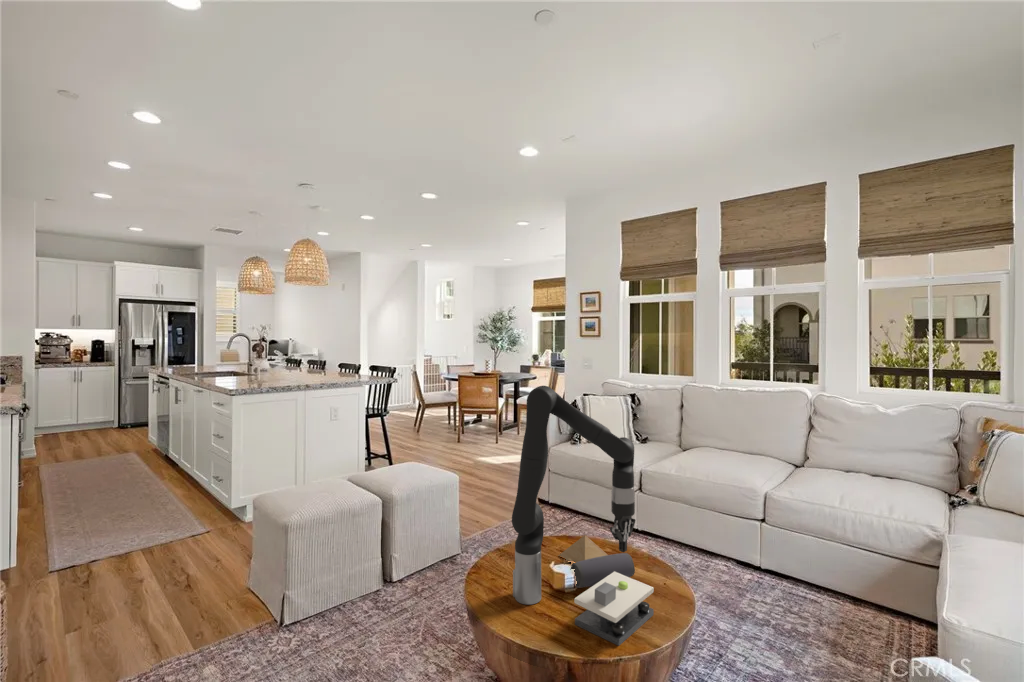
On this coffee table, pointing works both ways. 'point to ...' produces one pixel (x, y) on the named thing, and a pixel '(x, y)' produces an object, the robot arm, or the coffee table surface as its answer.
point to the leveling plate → (621, 597)
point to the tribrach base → (607, 624)
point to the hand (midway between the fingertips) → (622, 550)
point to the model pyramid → (582, 550)
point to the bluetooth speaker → (602, 568)
